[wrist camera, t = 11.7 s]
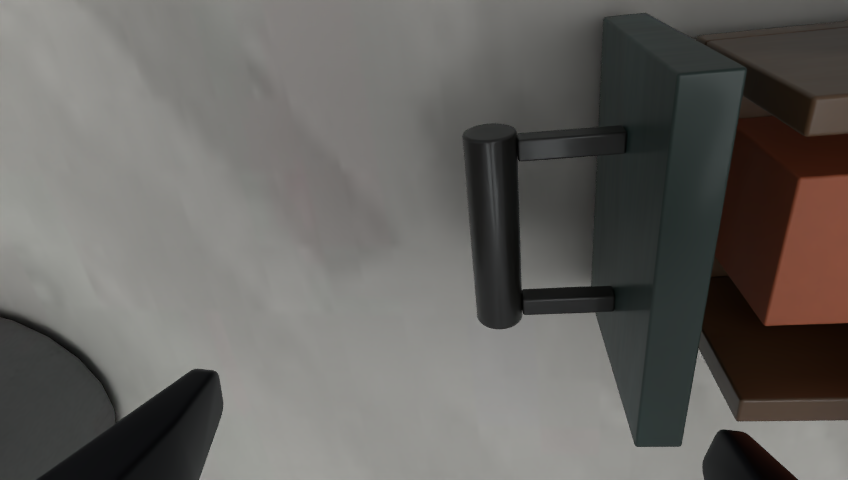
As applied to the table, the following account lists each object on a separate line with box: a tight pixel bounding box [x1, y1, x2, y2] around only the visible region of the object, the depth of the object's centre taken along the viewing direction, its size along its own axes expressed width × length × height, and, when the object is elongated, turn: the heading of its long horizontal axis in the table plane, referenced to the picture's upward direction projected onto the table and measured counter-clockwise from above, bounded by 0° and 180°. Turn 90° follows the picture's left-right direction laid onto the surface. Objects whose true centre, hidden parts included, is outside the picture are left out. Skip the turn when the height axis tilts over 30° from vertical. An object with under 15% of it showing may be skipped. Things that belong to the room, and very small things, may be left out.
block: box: [715, 116, 848, 326], centre depth 15 cm, size 4×4×4 cm
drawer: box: [462, 13, 848, 447], centre depth 15 cm, size 14×10×7 cm
